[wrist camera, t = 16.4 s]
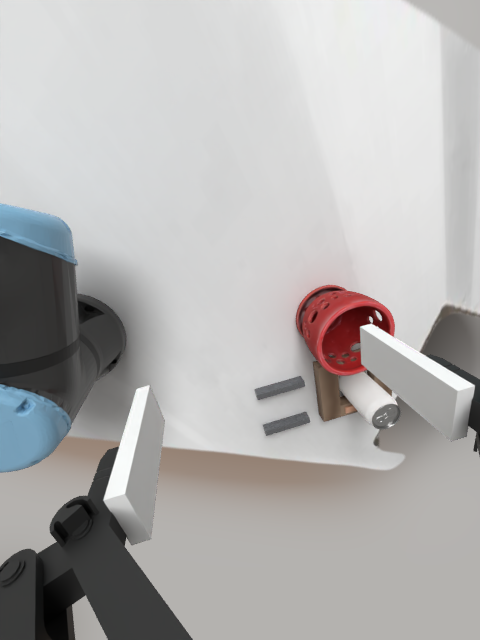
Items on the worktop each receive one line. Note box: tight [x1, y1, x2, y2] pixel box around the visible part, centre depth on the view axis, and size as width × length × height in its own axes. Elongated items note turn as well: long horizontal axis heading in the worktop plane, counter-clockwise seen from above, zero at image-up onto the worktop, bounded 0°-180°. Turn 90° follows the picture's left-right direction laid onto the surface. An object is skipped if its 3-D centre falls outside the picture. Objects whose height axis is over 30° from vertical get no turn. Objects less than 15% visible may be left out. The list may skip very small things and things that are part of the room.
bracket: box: [255, 376, 310, 436], centre depth 57 cm, size 10×11×2 cm
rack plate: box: [313, 349, 392, 422], centre depth 58 cm, size 16×14×3 cm
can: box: [338, 371, 401, 429], centre depth 54 cm, size 6×6×12 cm
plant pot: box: [296, 285, 395, 376], centre depth 47 cm, size 13×13×12 cm
